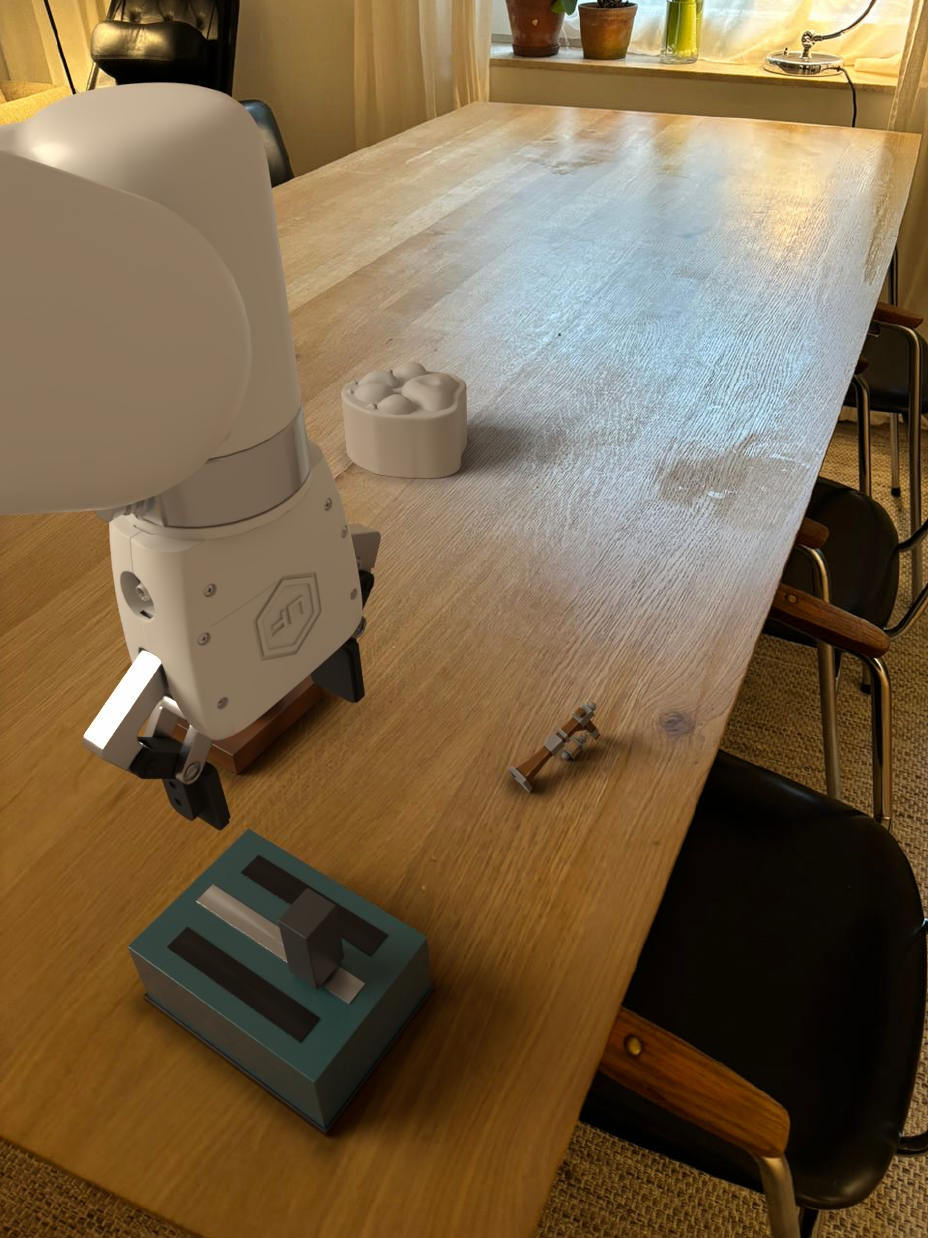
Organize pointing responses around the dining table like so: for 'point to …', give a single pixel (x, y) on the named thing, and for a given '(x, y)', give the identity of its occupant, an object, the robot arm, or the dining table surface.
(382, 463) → the lumpy-topped squat cylinder
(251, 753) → the control block
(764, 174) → the dining table surface
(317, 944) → the slider
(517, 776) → the wooden post with brackets
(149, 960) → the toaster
